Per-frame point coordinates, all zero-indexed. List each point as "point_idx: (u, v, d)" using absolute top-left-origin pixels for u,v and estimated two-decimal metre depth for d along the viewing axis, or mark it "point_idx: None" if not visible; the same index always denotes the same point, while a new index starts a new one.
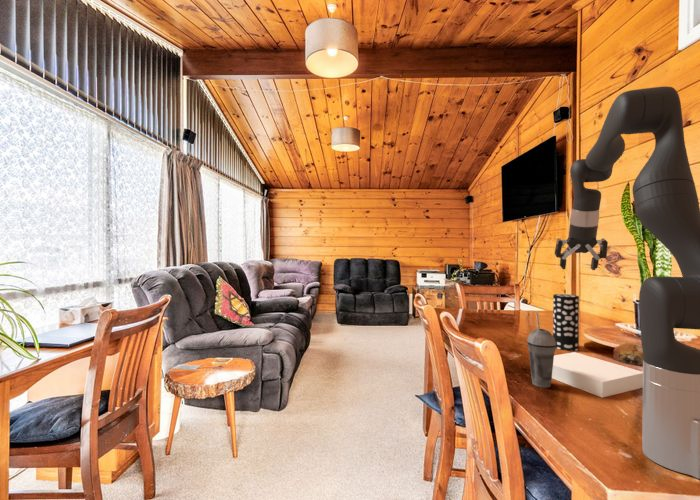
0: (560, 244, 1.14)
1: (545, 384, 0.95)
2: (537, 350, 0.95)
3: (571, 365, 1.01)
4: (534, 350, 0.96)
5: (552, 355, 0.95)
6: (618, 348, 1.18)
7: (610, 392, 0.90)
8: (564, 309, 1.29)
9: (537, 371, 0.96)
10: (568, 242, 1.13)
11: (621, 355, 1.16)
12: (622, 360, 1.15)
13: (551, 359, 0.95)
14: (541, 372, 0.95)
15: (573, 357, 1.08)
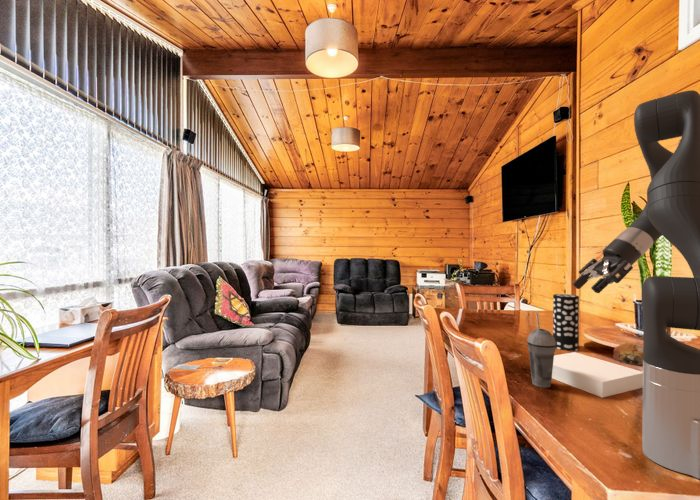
0: (591, 261, 1.02)
1: (545, 384, 0.95)
2: (537, 350, 0.95)
3: (571, 365, 1.01)
4: (534, 350, 0.96)
5: (552, 355, 0.95)
6: (618, 348, 1.18)
7: (610, 392, 0.90)
8: (564, 309, 1.29)
9: (537, 371, 0.96)
10: None
11: (621, 355, 1.16)
12: (622, 360, 1.15)
13: (551, 359, 0.95)
14: (541, 372, 0.95)
15: (573, 357, 1.08)
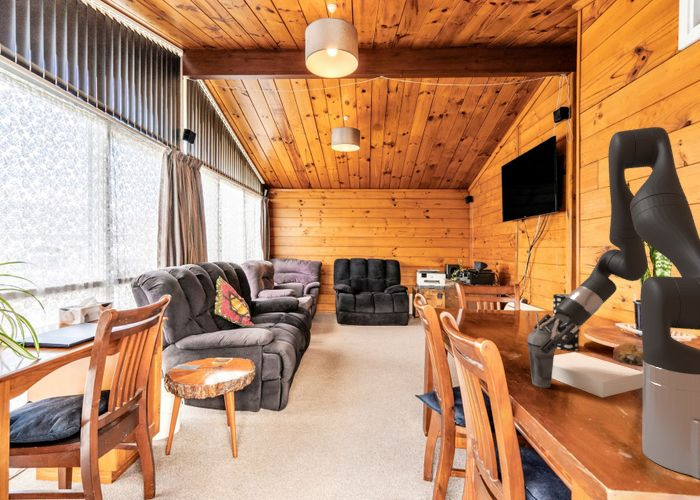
0: (545, 317, 1.03)
1: (545, 384, 0.95)
2: (537, 350, 0.95)
3: (571, 365, 1.01)
4: (534, 350, 0.96)
5: (552, 355, 0.95)
6: (618, 348, 1.18)
7: (610, 392, 0.90)
8: None
9: (537, 371, 0.96)
10: None
11: (621, 355, 1.15)
12: (622, 360, 1.15)
13: (551, 359, 0.95)
14: (541, 372, 0.95)
15: (573, 357, 1.08)
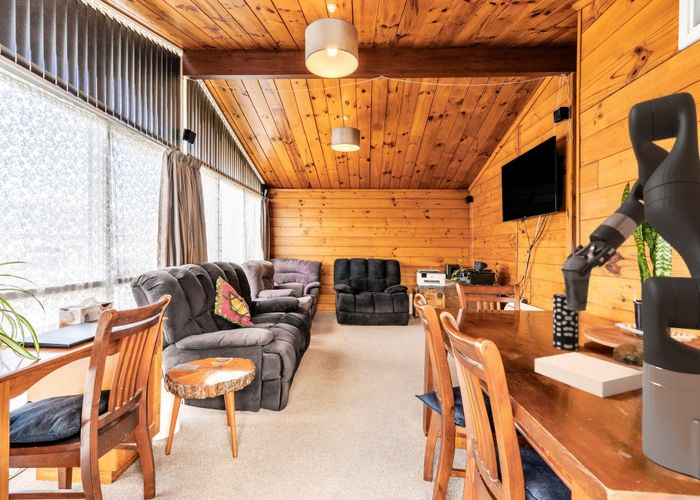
0: (578, 247, 1.06)
1: (581, 307, 0.98)
2: (573, 275, 0.98)
3: (571, 365, 1.01)
4: (570, 275, 0.99)
5: (588, 279, 0.98)
6: (617, 348, 1.18)
7: (610, 392, 0.90)
8: (564, 309, 1.29)
9: (573, 295, 0.99)
10: None
11: (620, 355, 1.15)
12: (621, 360, 1.15)
13: (587, 283, 0.98)
14: (577, 296, 0.98)
15: (573, 357, 1.08)
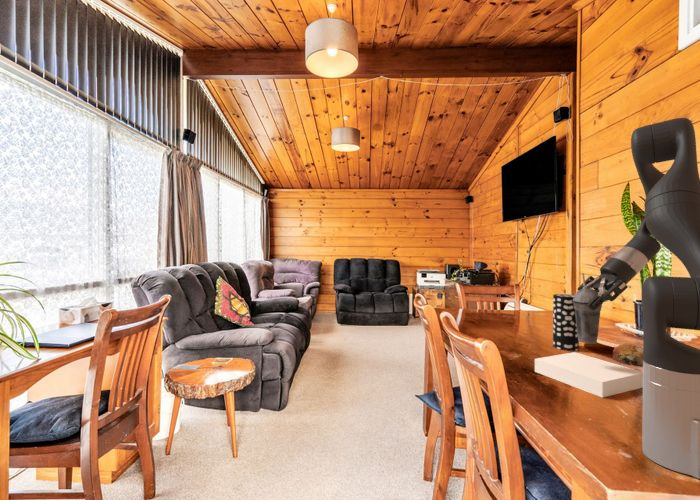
0: (588, 278, 1.07)
1: (592, 340, 0.99)
2: (584, 307, 0.99)
3: (571, 365, 1.01)
4: (581, 307, 1.00)
5: (599, 312, 0.99)
6: (617, 348, 1.17)
7: (610, 392, 0.90)
8: (564, 309, 1.29)
9: (584, 328, 1.00)
10: None
11: (620, 355, 1.15)
12: (621, 360, 1.15)
13: (598, 316, 0.99)
14: (588, 329, 0.99)
15: (573, 357, 1.08)
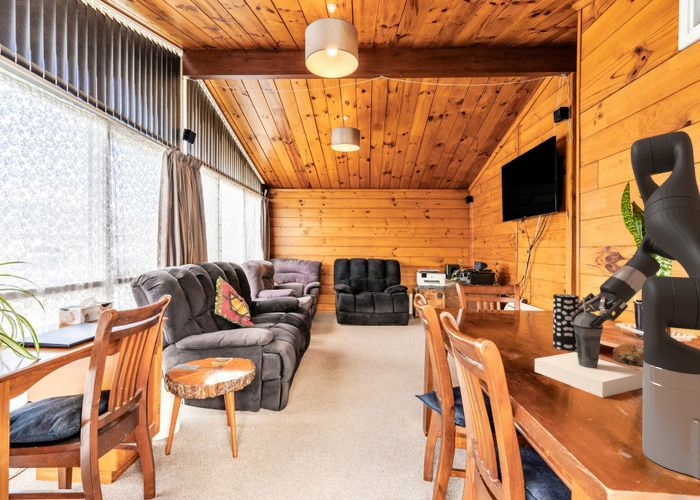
0: (588, 296, 1.07)
1: (592, 365, 0.99)
2: (585, 332, 0.99)
3: (571, 365, 1.01)
4: (581, 332, 0.99)
5: (599, 337, 0.98)
6: (617, 348, 1.17)
7: (610, 392, 0.90)
8: (564, 309, 1.29)
9: (584, 352, 0.99)
10: (595, 296, 1.05)
11: (620, 355, 1.15)
12: (621, 361, 1.15)
13: (598, 340, 0.98)
14: (589, 353, 0.99)
15: (573, 357, 1.08)
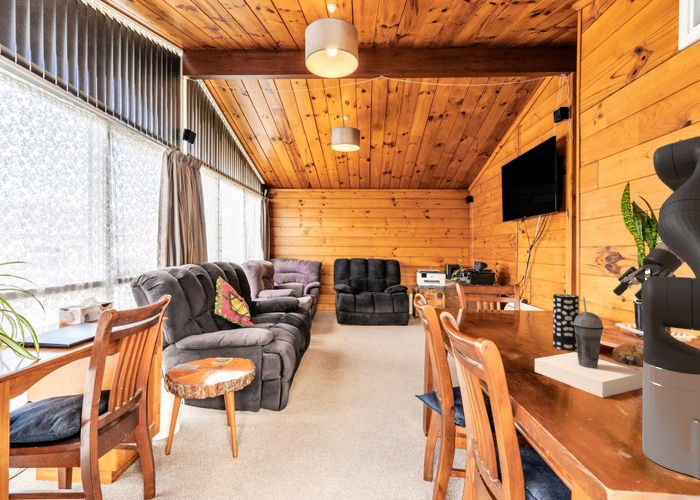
0: (630, 269, 1.07)
1: (592, 365, 0.99)
2: (585, 332, 0.99)
3: (571, 365, 1.01)
4: (581, 332, 0.99)
5: (599, 337, 0.98)
6: (617, 349, 1.17)
7: (610, 392, 0.90)
8: (564, 309, 1.29)
9: (584, 352, 0.99)
10: None
11: (620, 356, 1.15)
12: (621, 361, 1.15)
13: (598, 341, 0.98)
14: (589, 353, 0.99)
15: (573, 357, 1.08)
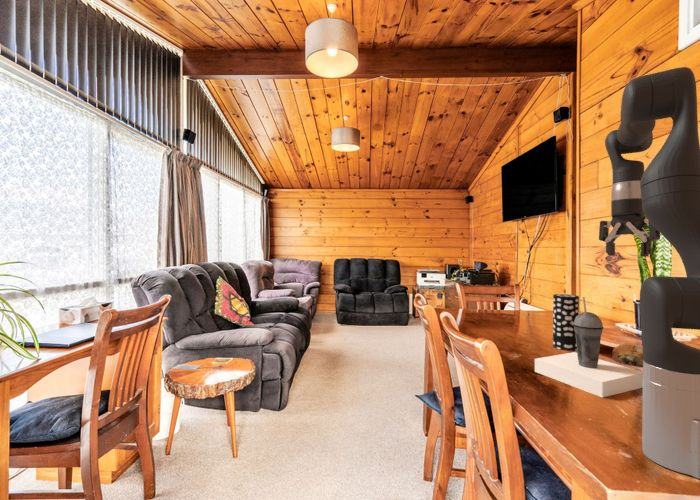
0: (602, 225, 1.04)
1: (592, 365, 0.99)
2: (585, 332, 0.99)
3: (571, 365, 1.01)
4: (581, 332, 0.99)
5: (599, 337, 0.98)
6: (617, 349, 1.17)
7: (610, 392, 0.90)
8: (564, 309, 1.29)
9: (584, 352, 0.99)
10: (610, 222, 1.02)
11: (620, 356, 1.15)
12: (621, 361, 1.15)
13: (598, 340, 0.98)
14: (589, 353, 0.99)
15: (573, 357, 1.08)
